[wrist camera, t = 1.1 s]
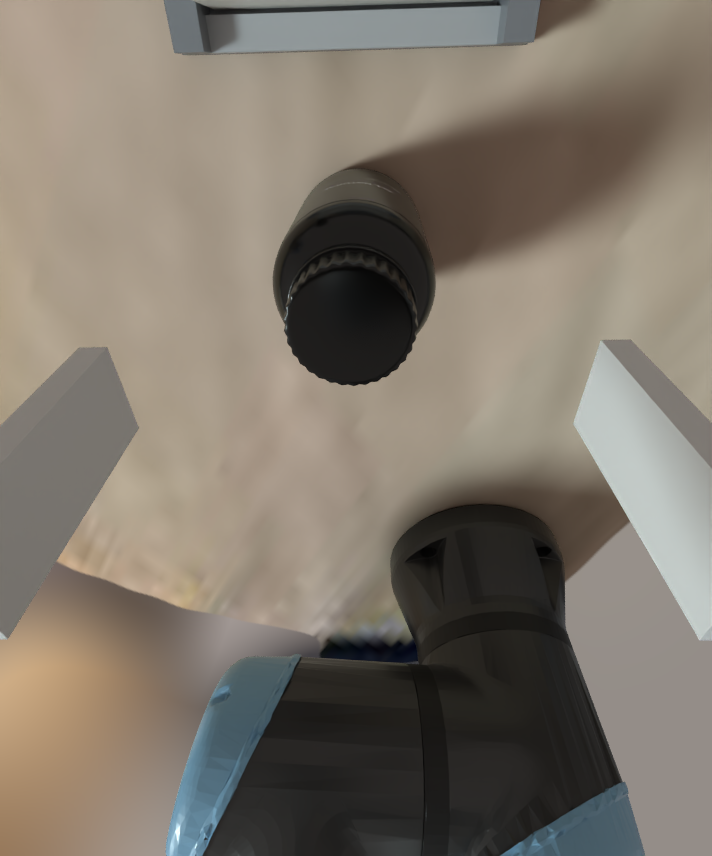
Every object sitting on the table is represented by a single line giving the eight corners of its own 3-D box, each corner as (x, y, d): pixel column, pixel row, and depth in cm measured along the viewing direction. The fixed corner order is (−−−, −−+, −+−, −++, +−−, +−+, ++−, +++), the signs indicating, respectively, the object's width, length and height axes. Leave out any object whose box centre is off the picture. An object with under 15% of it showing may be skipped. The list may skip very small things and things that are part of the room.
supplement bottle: (377, 135, 23) (386, 178, 13) (441, 252, 26) (485, 354, 17) (270, 217, 25) (214, 304, 16) (341, 315, 29) (331, 435, 19)
